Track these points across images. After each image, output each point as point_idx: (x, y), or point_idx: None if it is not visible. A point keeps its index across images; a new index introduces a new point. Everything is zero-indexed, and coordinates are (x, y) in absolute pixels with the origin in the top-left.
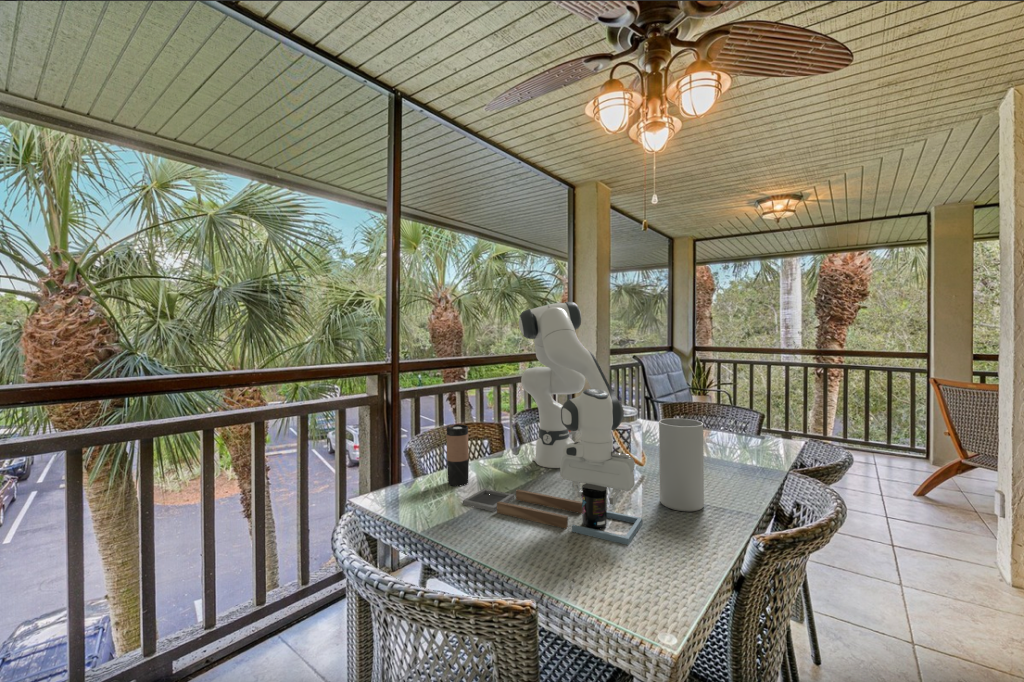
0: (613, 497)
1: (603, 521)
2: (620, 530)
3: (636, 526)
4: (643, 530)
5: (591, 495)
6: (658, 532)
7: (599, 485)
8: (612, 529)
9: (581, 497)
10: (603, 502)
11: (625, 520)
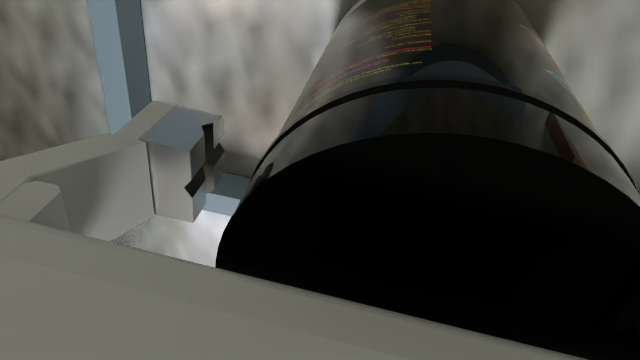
0: (120, 144)
1: (335, 31)
2: (224, 34)
3: (96, 53)
4: (96, 80)
5: (462, 94)
6: (16, 78)
7: (277, 286)
8: (280, 32)
9: None
10: (291, 113)
11: (230, 177)
